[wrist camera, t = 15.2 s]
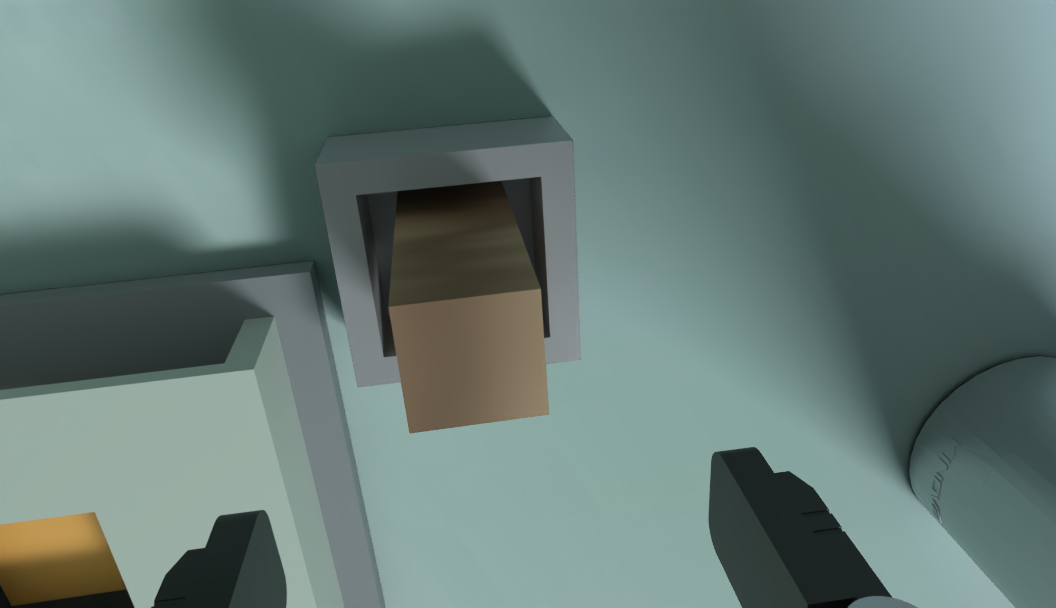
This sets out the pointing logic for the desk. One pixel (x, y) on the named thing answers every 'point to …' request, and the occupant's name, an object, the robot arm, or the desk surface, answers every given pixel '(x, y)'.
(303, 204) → the desk surface
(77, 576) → the breaker button
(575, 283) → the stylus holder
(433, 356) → the brown block
